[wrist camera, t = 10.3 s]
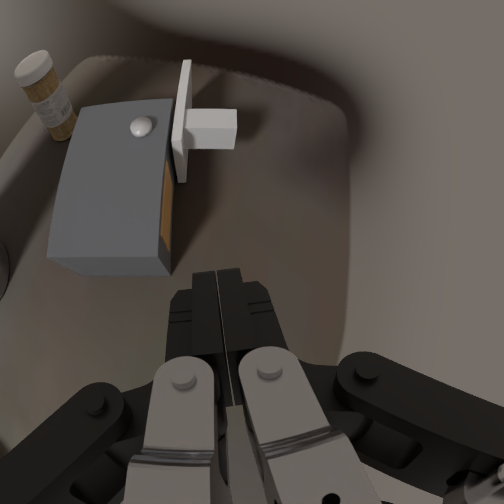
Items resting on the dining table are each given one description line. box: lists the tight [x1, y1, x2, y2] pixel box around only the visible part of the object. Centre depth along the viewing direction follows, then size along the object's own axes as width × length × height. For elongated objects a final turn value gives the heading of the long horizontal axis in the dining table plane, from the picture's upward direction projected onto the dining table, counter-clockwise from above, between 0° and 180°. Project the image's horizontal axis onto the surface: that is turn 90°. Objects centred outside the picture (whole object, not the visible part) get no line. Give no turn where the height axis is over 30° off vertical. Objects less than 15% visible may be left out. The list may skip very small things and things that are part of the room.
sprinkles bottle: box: [14, 50, 78, 141], centre depth 25 cm, size 5×5×13 cm
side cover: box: [171, 60, 237, 183], centre depth 30 cm, size 6×12×8 cm, turn 3°
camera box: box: [47, 98, 176, 276], centre depth 26 cm, size 10×17×9 cm, turn 3°
